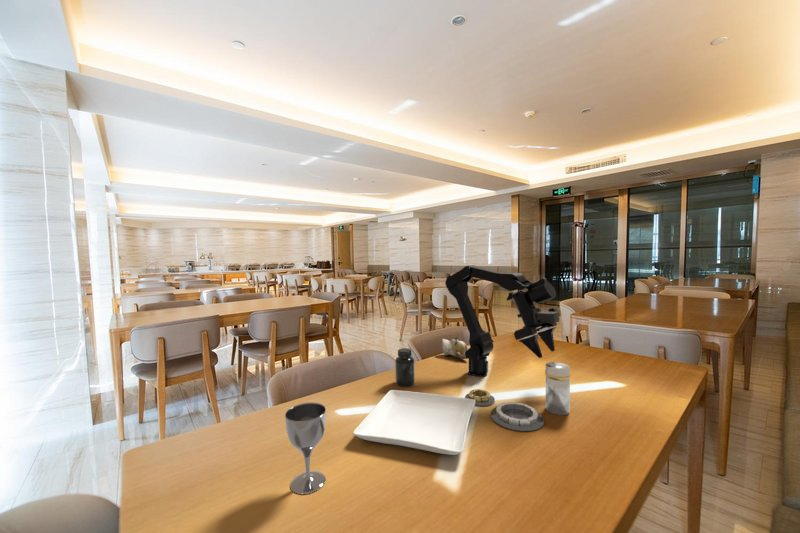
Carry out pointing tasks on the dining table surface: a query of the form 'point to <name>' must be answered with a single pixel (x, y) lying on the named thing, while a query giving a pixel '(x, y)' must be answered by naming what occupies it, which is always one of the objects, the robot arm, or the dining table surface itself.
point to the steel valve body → (558, 388)
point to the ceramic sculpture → (454, 348)
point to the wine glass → (306, 442)
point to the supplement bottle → (404, 368)
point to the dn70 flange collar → (517, 417)
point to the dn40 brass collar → (481, 397)
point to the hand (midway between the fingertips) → (547, 354)
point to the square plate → (419, 421)
